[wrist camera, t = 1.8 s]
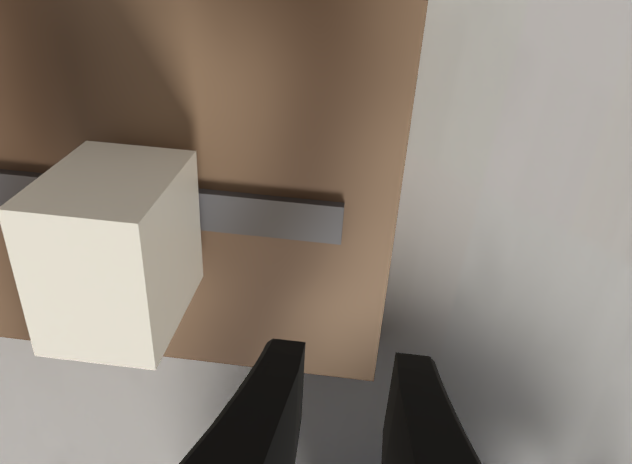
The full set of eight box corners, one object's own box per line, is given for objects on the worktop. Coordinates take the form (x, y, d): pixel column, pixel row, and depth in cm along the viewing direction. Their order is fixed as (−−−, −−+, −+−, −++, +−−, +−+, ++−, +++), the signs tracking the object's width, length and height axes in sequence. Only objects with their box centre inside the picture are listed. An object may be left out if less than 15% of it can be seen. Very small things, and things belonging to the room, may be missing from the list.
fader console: (-183, 278, 22) (-239, 314, 20) (-346, -66, 16) (-448, -62, 14) (374, 342, 21) (373, 387, 19) (423, -10, 15) (429, 1, 13)
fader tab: (106, 265, 17) (34, 355, 14) (86, 140, 15) (-4, 209, 12) (203, 276, 17) (155, 370, 13) (196, 150, 15) (137, 224, 11)
